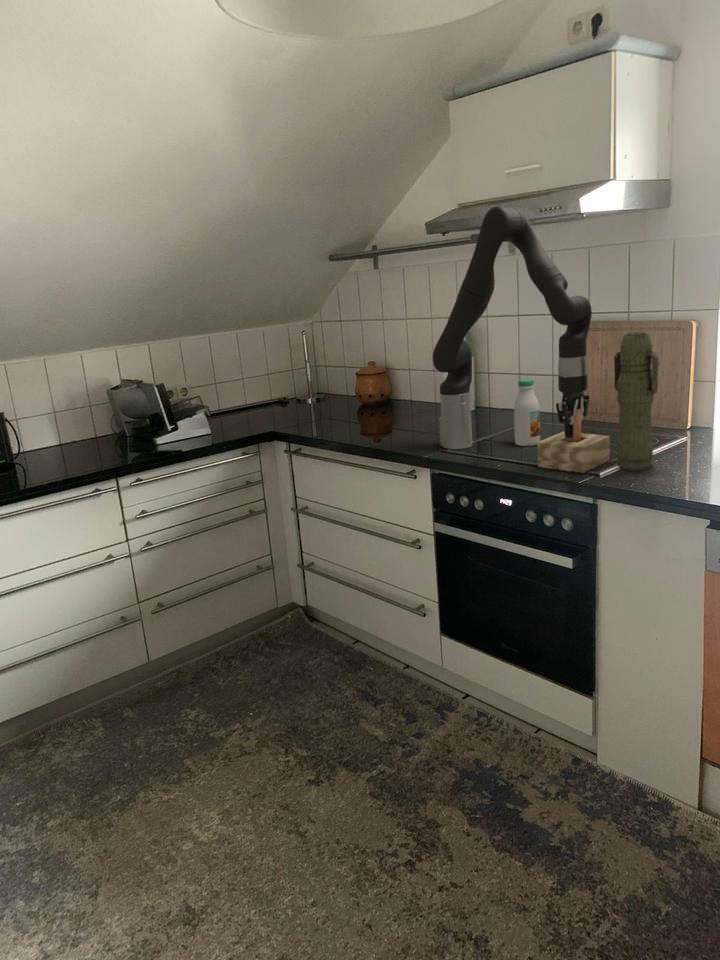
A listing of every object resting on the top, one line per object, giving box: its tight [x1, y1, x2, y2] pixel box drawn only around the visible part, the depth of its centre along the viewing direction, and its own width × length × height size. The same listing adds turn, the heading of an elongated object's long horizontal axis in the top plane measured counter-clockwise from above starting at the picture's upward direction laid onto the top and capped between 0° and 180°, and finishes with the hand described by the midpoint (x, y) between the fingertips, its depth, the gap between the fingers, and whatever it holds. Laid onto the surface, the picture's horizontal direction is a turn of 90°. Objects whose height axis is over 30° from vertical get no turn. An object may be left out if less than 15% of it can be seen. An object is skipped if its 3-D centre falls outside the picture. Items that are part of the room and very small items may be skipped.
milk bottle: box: [513, 378, 541, 447], centre depth 229 cm, size 8×8×20 cm
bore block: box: [536, 430, 611, 474], centre depth 204 cm, size 14×14×7 cm
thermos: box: [613, 331, 659, 472], centre depth 193 cm, size 9×12×35 cm
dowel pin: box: [566, 408, 581, 442], centre depth 203 cm, size 4×4×11 cm
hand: (573, 435), depth 203 cm, fingers closed on dowel pin, 4 cm apart
